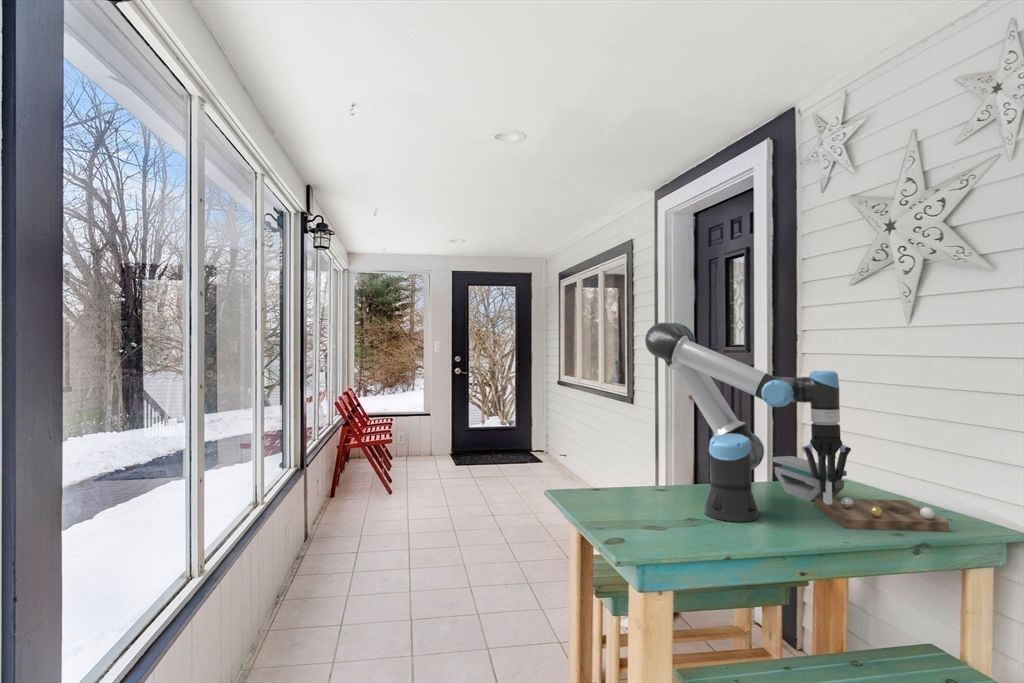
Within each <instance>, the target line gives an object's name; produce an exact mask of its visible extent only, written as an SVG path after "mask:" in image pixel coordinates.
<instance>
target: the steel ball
mask: <svg viewBox="0 0 1024 683" xmlns="http://www.w3.org/2000/svg"><path fill="white" fill-rule="evenodd" d="M841 499H842V500H841V505H842V506H843V507H844V508H846V509H850V508H852V507H853V501H852V500H851V499H852V498H850V497H848V496H847V497H843V498H841Z"/></svg>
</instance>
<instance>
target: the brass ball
mask: <svg viewBox="0 0 1024 683" xmlns="http://www.w3.org/2000/svg"><path fill="white" fill-rule="evenodd" d="M869 513H870V515H871V516H872V517H874V518H879V517H881V516H882V514H883V512H882V509H881V508H880V507H878V506H872V507H871V508H870V509H869Z"/></svg>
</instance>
